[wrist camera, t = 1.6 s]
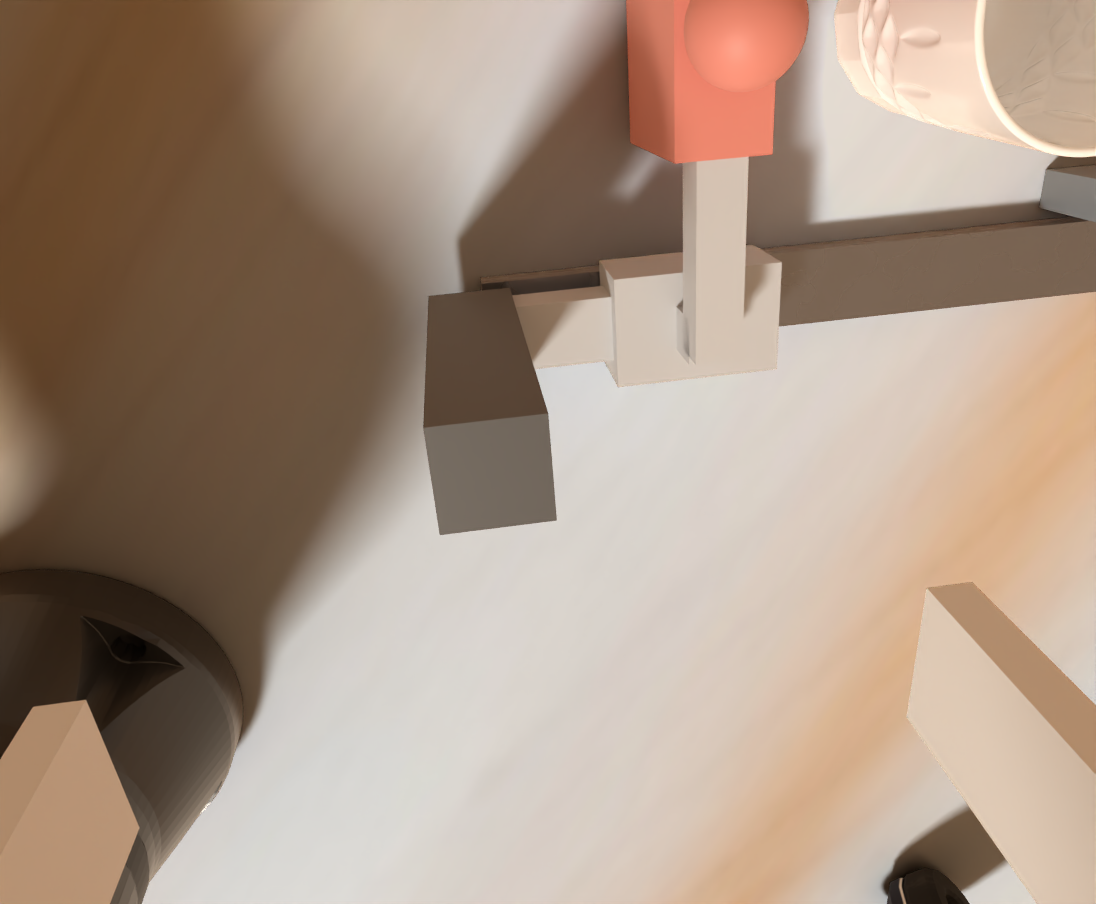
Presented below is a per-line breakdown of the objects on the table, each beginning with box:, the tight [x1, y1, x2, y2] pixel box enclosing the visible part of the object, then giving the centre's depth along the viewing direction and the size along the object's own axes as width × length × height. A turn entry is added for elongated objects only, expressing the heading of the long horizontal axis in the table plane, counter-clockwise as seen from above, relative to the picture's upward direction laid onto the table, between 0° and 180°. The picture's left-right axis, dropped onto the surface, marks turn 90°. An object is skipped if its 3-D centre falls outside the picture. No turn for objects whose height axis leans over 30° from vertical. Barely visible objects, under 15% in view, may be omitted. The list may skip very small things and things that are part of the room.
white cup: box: [834, 0, 1096, 157], centre depth 26 cm, size 8×8×10 cm
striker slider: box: [423, 0, 809, 535], centre depth 24 cm, size 12×15×14 cm
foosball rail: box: [480, 217, 1096, 326], centre depth 34 cm, size 30×3×1 cm, turn 94°
